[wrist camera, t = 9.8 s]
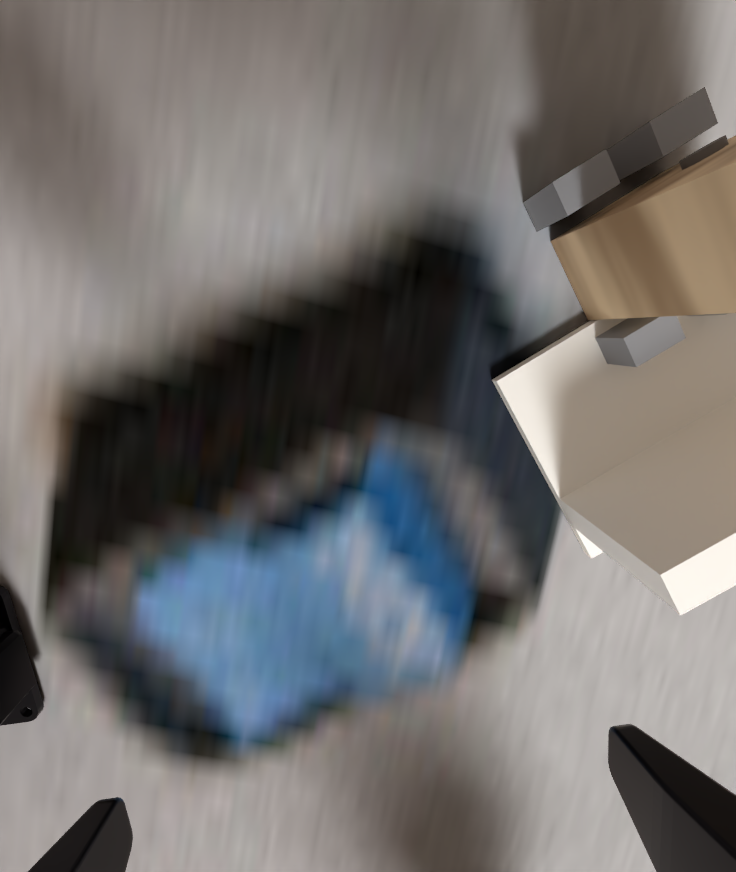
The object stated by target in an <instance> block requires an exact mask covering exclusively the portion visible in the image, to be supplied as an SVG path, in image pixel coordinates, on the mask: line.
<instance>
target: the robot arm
mask: <svg viewBox="0 0 736 872" xmlns="http://www.w3.org/2000/svg"><path fill="white" fill-rule="evenodd" d="M27 707H28V708H30V709H31V710H30V709H28V708H27ZM43 707H44V705H43V700H42V697H41V694H40V691H39V688H38V684H37V681H36V678H35V675H34V672H33V668H32V665H31V662H30V659H29V655H28V652H27V649H26V646H25V643H24V639H23V636H22V633H21V630H20V626H19V623H18V620H17V617H16V614H15V610H14V607H13V604H12V601H11V597H10V594H9V592H8V590H7V589H5V588H4V587H3V586H0V725H7V724H15V723H22V722H29V721H32V720H34V719H35V718H37V716H38V715H39V714H40V713H41V711H42V710H43ZM608 763H609V768H610V772H611V775H612V777H613V780H614V782H615V784H616V786H617V788H618V790H619V792H620V795H621V797H622V799H623V801H624V803H625V805H626V807H627V810H628V812H629V814H630V816H631V818H632V820H633V822H634V825H635V827H636V829H637V831H638V833H639V835H640V838H641V840H642V842H643V844H644V846H645V848H646V850H647V853H648V855H649V857H650V859H651V861H652V863H653V865H654V867H655V869H656V871H657V872H736V795H735V794H733V793H732V792H730V791H729V790H728V789H726V788H725V787H723V786H722V785H720V784H719V783H717V782H716V781H714V780H713V779H712V778H710V777H709V776H707V775H706V774H704V773H703V772H701V771H700V770H698V769H697V768H696V767H694V766H693V765H691V764H690V763H688V762H687V761H685V760H684V759H682V758H681V757H680V756H678V755H677V754H675V753H674V752H672V751H671V750H669V749H668V748H666V747H665V746H664V745H662V744H661V743H659V742H658V741H656V740H655V739H653V738H652V737H650V736H649V735H648V734H646V733H645V732H643V731H642V730H640V729H639V728H637V727H636V726H634V725H631V724H626V725H619V726H613V727H611V728H610V730H609V740H608ZM132 840H133V835H132V828H131V825H130V821H129V818H128V814H127V810H126V807H125V803H124V801H123V800H122V799H121V798H118V797H117V798H110V799H103V800H99V801H97V802H96V803H94V804H93V805H92V806H91V807H90V808H89V809H88V810H87V811H86V812H85V813H84V814H83V815H82V816H81V817H80V819H79V820H78V821H77V822H76V823H75V824H74V825H73V826H72V827H71V828H70V829H69V830H68V831H67V832H66V833H65V834H64V835H63V836H62V837H61V838H60V839H59V840H58V841H57V842H56V843H55V844H54V845H53V846H52V847H51V848H50V849H49V850H48V851H47V852H46V853H45V855H44V856H43V857H42V858H41V859H40V860H39V861H38V862H37V863H36V864H35V865H34V866H33V867H32V868H31V869H30V870H29V871H28V872H125V871H126V867H127V863H128V859H129V855H130V852H131V847H132Z"/></svg>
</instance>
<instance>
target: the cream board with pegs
mask: <svg viewBox="0 0 736 872" xmlns="http://www.w3.org/2000/svg"><path fill="white" fill-rule="evenodd" d="M717 123H718V122H717V120H716V117H715V114H714V111H713V109H712V106H711V103H710V100H709V98H708V95H707V92H706V89H705V87H704V88H702V89H701V90H699V91H697V92H696V93H694V94H693V95H691V96H689V97H688V98H686V99H685V100H683V101H681V102H680V103H678V104H677V105H675V106H673V107H672V108H670V109H669V110H667V111H665V112H664V113H662V114H661V115H659V116H657V117H656V118H654V119H653V120H651V121H649V122H648V123H647V124H645V125H644V126H642V127H641V128H639V129H638V130H636V131H635V132H633V133H632V134H630V135H629V136H627V137H626V138H624V139H623V140H621V141H620V142H618V143H617V144H615V145H614V146H613V147H611V148H610V149H608V150H606V149H605V150H603V151H602V152H600V153H598V154H597V155H595V156H594V157H592V158H590V159H589V160H587V161H586V162H584V163H582V164H581V165H579V166H578V167H576V168H574V169H573V170H571V171H570V172H568V173H566V174H565V175H563V176H562V177H560V178H558V179H557V180H555V181H554V182H552V183H551V184H549V185H548V186H546V187H545V188H543V189H542V190H541V191H539V192H538V193H536V194H535V195H533V196H532V197H531V198H529V199H528V200H526V201H525V202H523V203H524V205H525V208H526V210H527V212H528V214H529V216H530V218H531V220H532V222H533V224H534V227H535V229H536V231H539V230H541V229H543V228H545V227H547V226H549V225H551V224H553V223H555V222H557V221H559V220H561V219H563V218H565V217H567V216H569V215H570V214H572V213H574V212H575V211H577V210H578V209H580V208H582V207H583V206H585V205H586V204H588V203H590V202H591V201H593V200H595V199H596V198H598V197H599V196H601V195H603V194H604V193H606V192H607V191H609V190H611V189H612V188H614V187H616V186H617V185H619V184H620V180H621V179H623V178H625V177H627V176H629V175H631V174H632V173H634V172H636V171H638V170H640V169H642V168H644V167H645V166H647V165H649V164H651V163H653V162H655V161H657V160H658V159H660V158H662V157H664V156H666V155H667V154H669V153H670V152H672V151H674V150H675V149H677V148H678V147H680V146H682V145H683V144H685V143H687V142H688V141H690V140H691V139H693V138H695V137H696V136H698V135H699V134H701V133H703V132H704V131H706V130H708V129H709V128H711V127H712V126H714V125H716V124H717ZM492 381H493V383H494V385H495V387H496V389H497V390H498V392H499V394H500V396H501V398H502V400H503V402H504V403H505V405H506V407H507V409H508V411H509V413H510V415H511V416H512V418H513V420H514V422H515V424H516V426H517V428H518V430H519V431H520V433H521V435H522V437H523V439H524V441H525V443H526V444H527V446H528V448H529V450H530V452H531V454H532V456H533V457H534V459H535V461H536V463H537V465H538V467H539V469H540V470H541V472H542V474H543V476H544V478H545V480H546V482H547V484H548V485H549V487H550V489H551V491H552V493H553V495H554V497H555V498H556V500H557V502H558V504H559V506H560V508H561V510H562V511H563V513H564V515H565V517H566V519H567V521H568V523H569V524H570V526H571V528H572V530H573V532H574V534H575V536H576V538H577V539H578V541H579V543H580V545H581V547H582V549H583V551H584V552H585V553H586V554H587V555H588V556H589V557H590V558H591V559H592V558H594V557H596V556H597V555H599V554H601V553H603V552H604V553H605V554H607V555H608V556H609V557H610V558H612V559H613V560H614V561H615V562H616V563H618V564H619V565H620V566H621V567H622V568H624V569H625V570H626V571H627V572H628V573H630V574H631V575H632V576H633V577H634V578H636V579H637V580H638V581H639V582H641V583H642V584H643V585H644V586H645V587H647V588H648V589H649V590H650V591H651V592H653V593H654V594H655V595H656V596H657V597H659V598H660V599H661V600H662V601H663V602H665V603H666V604H667V605H668V606H670V607H671V608H672V609H673V610H674V611H676V612H677V613H678V614H679V615H680V616H681V615H682V614H684V613H686V612H688V611H690V610H691V609H693V608H695V607H697V606H699V605H700V604H702V603H704V602H706V601H708V600H710V599H711V598H713V597H715V596H717V595H719V594H720V593H722V592H724V591H726V590H728V589H729V588H731V587H733V586H735V585H736V313H726V314H705V315H685V316H665V317H644V318H624V319H603V320H590V321H589V322H587V323H585V324H584V325H582V326H580V327H579V328H577V329H575V330H574V331H572V332H570V333H569V334H567V335H565V336H564V337H562V338H560V339H559V340H557V341H555V342H554V343H552V344H551V345H549V346H547V347H546V348H544V349H542V350H541V351H539V352H537V353H536V354H534V355H532V356H531V357H529V358H527V359H526V360H524V361H522V362H521V363H519V364H517V365H516V366H514V367H512V368H511V369H509V370H507V371H506V372H504V373H502V374H501V375H499V376H497V377H496V378H494V379H492Z"/></svg>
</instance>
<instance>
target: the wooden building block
mask: <svg viewBox="0 0 736 872" xmlns="http://www.w3.org/2000/svg"><path fill="white" fill-rule="evenodd" d="M551 243H552V245H553V247H554V249H555V251H556V254H557V256H558V258H559V260H560V262H561V264H562V266H563V268H564V271H565V273H566V275H567V277H568V279H569V281H570V283H571V285H572V288H573V290H574V292H575V294H576V296H577V298H578V300H579V302H580V305H581V307H582V309H583V311H584V313H585V315H586V317H587V319H588V320H603V319H624V318H644V317H665V316H685V315H705V314H726V313H736V136H734V137H732V138H730V139H728V140H727V138H726V135H725V136H723V137H721V138H719V139H717V140H715V141H713V142H711V143H710V144H708V145H706V146H704V147H702V148H701V149H699V150H697V151H696V152H694V153H692V154H690V155H689V156H687V157H686V158H684V159H682V160H681V161H680V162H679V164H677V165H675V166H673V167H671V168H669V169H667V170H665V171H663V172H662V173H660V174H659V175H657V176H655V177H654V178H652V179H651V180H649V181H647V182H646V183H644V184H642V185H641V186H639V187H638V188H636V189H634V190H633V191H631V192H630V193H628V194H626V195H625V196H623V197H621V198H620V199H618V200H617V201H615V202H613V203H612V204H610V205H609V206H607V207H605V208H604V209H602V210H600V211H599V212H597V213H596V214H594V215H592V216H591V217H589V218H588V219H586V220H584V221H583V222H581V223H579V224H578V225H576V226H575V227H573V228H571V229H570V230H568V231H567V232H565V233H563V234H562V235H560V236H558V237H557V238H555V239H554V240H552V241H551Z"/></svg>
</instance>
